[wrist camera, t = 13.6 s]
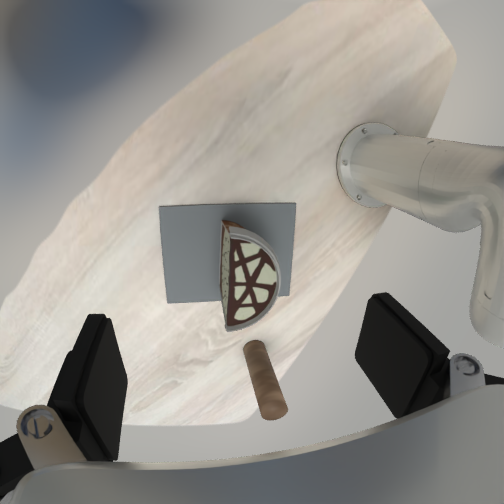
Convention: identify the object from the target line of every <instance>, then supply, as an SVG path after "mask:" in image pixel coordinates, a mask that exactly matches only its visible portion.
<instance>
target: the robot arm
mask: <svg viewBox="0 0 504 504" xmlns="http://www.w3.org/2000/svg"><path fill="white" fill-rule="evenodd" d="M343 161H344V163H342V162H343ZM337 171H338V176H339V181H340V183H341V185H342V188H343V189H344V191H345V192H346V194H347V195H348V196H349V197H350V198H351V199H352V200H354V201H355V202H357V203H358V204H361V205H363V206H366V207H370V208H378V207H383V206H385V205H390V206H392V207H394V208H397V209H399V210H401V211H404V212H406V213H408V214H410V215H412V216H414V217H417V218H419V219H421V220H423V221H425V222H427V223H430V224H432V225H434V226H436V227H438V228H440V229H442V230H445V231H448V232H464V231H468V230H470V229H473V228H475V227H477V226H479V225H480V224H481V228H482V229H481V241H480V252H479V259H478V264H477V270H476V275H475V280H474V284H473V290H472V293H471V300H470V319H471V323H472V325H473V327H474V329H475V330H476V331H477V333H478V334H479V335H480V336H481V337H482V338H483V339H485V340H486V341H488V342H489V343H492V344H493V345H496V346H499V347H501V348H504V147H501V146H484V145H476V144H468V143H461V142H455V141H446V140H439V139H431V138H423V137H414V136H403V135H399V134H398V133H397V132H396V131H395V130H394V129H392V128H391V127H389V126H387V125H384V124H381V123H366V124H362V125H360V126H358V127H356V128H354V129H353V130H352V131H351V132H350V133H349V134H348V135H347V136H346V138H345V139H344V141H343V143H342V145H341V147H340V150H339V154H338V160H337ZM449 352H450V350H449V349H448V348H446V346H445V345H444V344H443V343H442V342H440V340H438V339H437V338H436V337H435V336H434V335H433V334H432V333H431V332H430V331H429V330H428V329H427V328H426V327H425V326H424V325H423V324H422V323H420V322H419V321H418V320H417V319H416V318H415V317H414V316H413V315H412V314H411V313H410V312H409V311H408V310H406V309H405V308H404V307H403V306H402V305H401V304H400V303H399V302H398V301H397V300H395V299H394V298H393V297H392V296H391V295H390V294H389V293H386V292H385V293H378V294H373V295H372V297H371V298H370V299H369V300H368V303H367V307H366V312H365V315H364V320H363V324H362V328H361V332H360V336H359V339H358V343H357V347H356V351H355V359H356V361H357V363H358V364H359V365H360V367H361V368H362V370H363V371H364V373H365V374H366V376H367V377H368V378H369V380H370V381H371V383H372V384H373V385H374V387H375V389H376V390H377V392H378V393H379V395H380V396H381V397H382V399H383V400H384V402H385V403H386V405H387V406H388V408H389V409H390V411H391V412H392V414H393V415H394V417H395V418H397V419H396V420H393V421H390V422H388V423H385V424H382V425H379V426H376V427H373V428H370V429H367V430H364V431H360V432H357V433H354V434H350V435H347V436H343V437H340V438H337V439H332V440H329V441H325V442H321V443H317V444H312V445H308V446H303V447H299V448H294V449H289V450H283V451H278V452H272V453H266V454H260V455H253V456H246V457H238V458H229V459H219V460H207V461H190V462H159V463H158V462H157V463H155V462H154V463H153V462H151V463H149V462H148V463H147V462H145V463H144V462H113V460H115V461H116V460H117V459H118V453H119V443H120V435H121V427H122V419H123V411H124V404H125V398H126V391H127V384H128V380H127V374H126V371H125V368H124V365H123V361H122V358H121V354H120V351H119V347H118V344H117V340H116V336H115V332H114V328H113V324H112V321H111V319H110V318H106V316H105V314H89V315H88V316H87V318H86V320H85V323H84V325H83V327H82V329H81V331H80V334H79V336H78V338H77V340H76V343H75V345H74V347H73V350H72V351H69V352H68V354H67V356H66V358H65V360H64V363H63V365H62V367H61V370H60V372H59V375H58V377H57V380H56V382H55V385H54V388H53V390H52V393H51V396H50V398H49V401H48V404H47V406H45V405H34V406H31V407H29V408H27V409H26V410H24V411H23V412H22V413H21V415H20V416H19V418H18V420H17V425H16V428H17V432H18V433H17V434H15V435H13V436H11V437H10V438H8V439H6V440H4V441H2V442H0V504H504V378H500V377H496V376H492V375H487V374H484V371H483V367H482V364H481V363H480V362H479V361H478V360H477V359H476V358H475V357H473V356H471V355H468V354H464V353H459V354H456V355H453V356H452V357H451V359H450V360H449V359H448V358H447V357H448V354H449Z"/></svg>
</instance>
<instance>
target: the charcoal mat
mask: <svg viewBox="0 0 504 504" xmlns="http://www.w3.org/2000/svg"><path fill="white" fill-rule="evenodd" d="M159 215H160V230H161V244H162V256H163V266H164V276H165V286H166V295H167V303H189V302H208V301H221V295H220V289H219V263H220V236H221V220H228V221H232V222H235V223H237V224H239V225H241V226H243V227H244V228H245V229H246V230H249V231H251V232H254V233H255V234H257V235H259V236H260V237H262V238H263V239H264V240H265V241H266V242H267V243H268V244H269V245H270V246H271V247H272V249H273V250H274V252H275V254H276V256H277V259H278V262H279V266H280V273H281V286H280V291H279V294H278V296H289V291H290V280H291V268H292V256H293V243H294V230H295V215H296V203H246V204H208V205H182V206H161V207H159Z"/></svg>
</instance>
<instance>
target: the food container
mask: <svg viewBox="0 0 504 504" xmlns="http://www.w3.org/2000/svg"><path fill="white" fill-rule="evenodd" d="M280 286H281V273H280V266H279V262H278V259H277V256H276V254H275V252H274V250H273V249H272V247H271V246H270V245H269V244H268V243H267V242H266V241H265V240H264V239H263V238H262V237H260V236H259V235H257V234H255V233H254V232H251V231H249V230H246V229H245V228H244V227H243V226H241V225H239V224H237V223H235V222H232V221H228V220H221V236H220V263H219V289H220V295H221V301H222V307H223V313H224V319H225V328H226V331H227V332H232V331H237V330H242V329H244V328H247V327H249V326H251V325H253V324H255V323H257V322H258V321H259V320H261V319H262V318H263V317H264V316H265V315H266V314H267V313H268V312H269V311H270V310H271V308H272V307H273V305H274V303H275V302H276V299H277V297H278V294H279V291H280Z"/></svg>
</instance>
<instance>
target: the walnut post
mask: <svg viewBox="0 0 504 504" xmlns="http://www.w3.org/2000/svg"><path fill="white" fill-rule="evenodd" d="M243 351H244V355H245V359H246V362H247V366H248V370H249V373H250V377H251V381H252V384H253V388H254V391H255V395H256V398H257V402H258V406H259V409H260V412H261V416H262V418H263V419H265V420H276V419H279V418H281V417H283V416H284V415H285V414H286V413H287V412H288V408H287V405H286V403H285V400H284V397H283V394H282V392H281V389H280V386H279V383H278V381H277V378H276V375H275V373H274V370H273V367H272V365H271V362H270V359H269V356H268V354H267V351H266V348H265V345H264V344H263V342H261V341H258V340H253V341H250V342H248V343H247V344H246V345H245V346H244V348H243Z"/></svg>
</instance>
